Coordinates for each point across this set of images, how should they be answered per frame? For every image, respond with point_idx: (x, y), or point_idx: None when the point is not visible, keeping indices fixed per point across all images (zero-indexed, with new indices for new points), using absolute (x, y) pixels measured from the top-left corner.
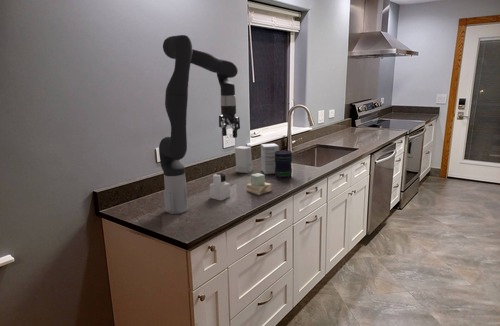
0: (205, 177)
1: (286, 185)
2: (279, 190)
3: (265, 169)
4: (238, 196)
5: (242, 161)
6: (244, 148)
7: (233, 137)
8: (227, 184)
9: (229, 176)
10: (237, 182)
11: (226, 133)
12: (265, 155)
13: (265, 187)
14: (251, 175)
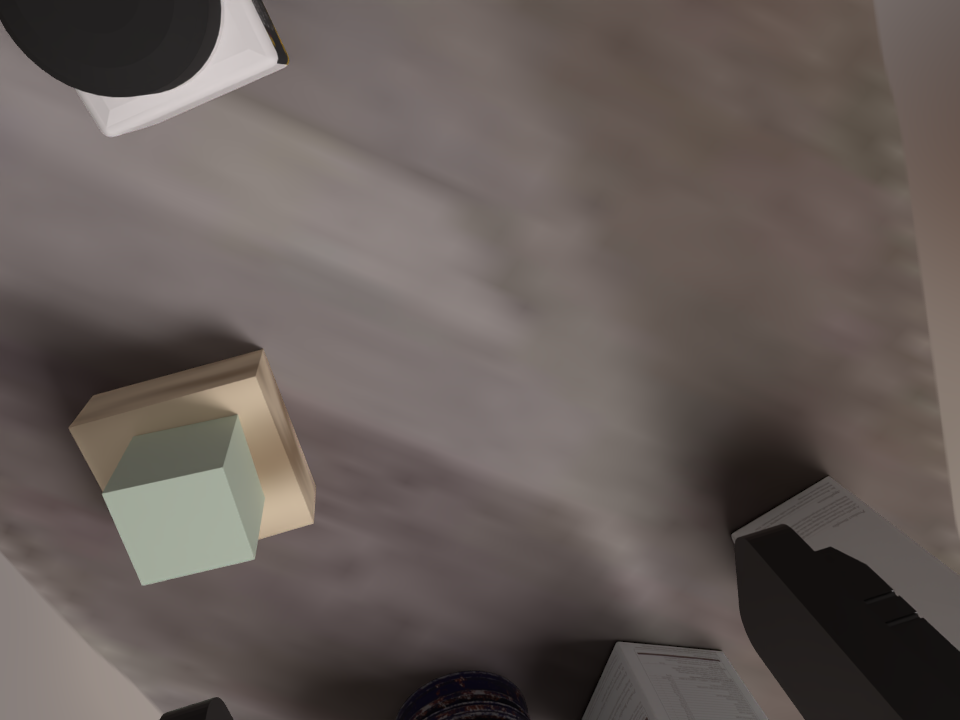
0: (892, 160)
1: (244, 673)
2: (139, 586)
3: (630, 675)
4: (129, 206)
5: None
6: None
7: (173, 711)
8: (77, 93)
9: (758, 375)
10: (551, 369)
11: (781, 680)
12: None
13: None
14: (212, 465)
